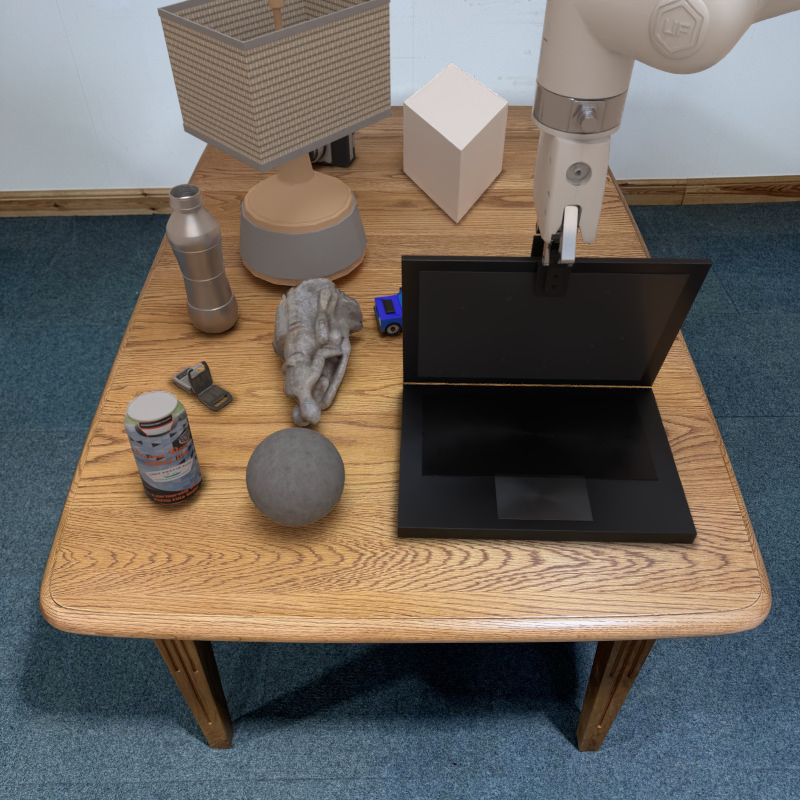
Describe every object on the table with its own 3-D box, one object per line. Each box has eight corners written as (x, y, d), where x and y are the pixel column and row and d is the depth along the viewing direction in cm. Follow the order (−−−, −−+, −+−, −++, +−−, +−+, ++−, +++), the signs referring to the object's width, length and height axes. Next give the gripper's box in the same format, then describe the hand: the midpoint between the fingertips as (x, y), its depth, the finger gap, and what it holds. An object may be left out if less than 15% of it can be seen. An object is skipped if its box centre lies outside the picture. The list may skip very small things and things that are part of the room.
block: (493, 128, 141) (499, 62, 133) (511, 223, 117) (519, 150, 108) (403, 128, 141) (403, 62, 133) (402, 223, 117) (402, 150, 108)
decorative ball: (366, 508, 77) (363, 446, 70) (290, 563, 72) (277, 502, 65) (310, 455, 82) (301, 392, 75) (235, 503, 77) (218, 441, 70)
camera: (268, 167, 130) (260, 112, 123) (286, 147, 136) (279, 93, 129) (341, 177, 127) (337, 122, 120) (356, 156, 133) (353, 102, 126)
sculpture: (350, 457, 89) (254, 440, 85) (352, 343, 99) (267, 324, 95) (380, 408, 80) (275, 388, 77) (379, 290, 91) (287, 267, 87)
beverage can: (148, 518, 76) (116, 442, 68) (146, 466, 81) (116, 389, 73) (209, 505, 77) (184, 429, 69) (203, 455, 82) (180, 378, 74)
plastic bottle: (232, 341, 96) (202, 207, 82) (184, 337, 97) (146, 203, 83) (247, 312, 101) (221, 179, 87) (201, 307, 101) (167, 175, 87)
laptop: (692, 543, 74) (697, 533, 72) (397, 537, 74) (397, 526, 73) (648, 398, 88) (652, 386, 87) (403, 394, 89) (402, 382, 88)
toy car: (372, 311, 101) (371, 281, 97) (456, 300, 102) (458, 271, 99) (381, 341, 96) (380, 311, 93) (468, 329, 98) (471, 300, 94)
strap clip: (171, 382, 91) (163, 357, 88) (190, 369, 92) (183, 344, 89) (216, 413, 87) (209, 387, 84) (235, 399, 89) (229, 373, 86)
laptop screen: (713, 264, 70) (711, 258, 70) (401, 260, 70) (401, 254, 71) (651, 387, 87) (650, 382, 87) (402, 383, 88) (403, 378, 88)
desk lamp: (290, 320, 99) (250, 36, 73) (209, 265, 109) (148, -4, 83) (400, 255, 110) (399, -12, 84) (317, 210, 120) (293, -42, 94)
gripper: (644, 150, 55) (597, 335, 68) (605, 65, 67) (571, 238, 80) (545, 149, 55) (517, 334, 68) (523, 65, 67) (503, 237, 80)
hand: (547, 280), depth 74 cm, fingers open, 3 cm apart
